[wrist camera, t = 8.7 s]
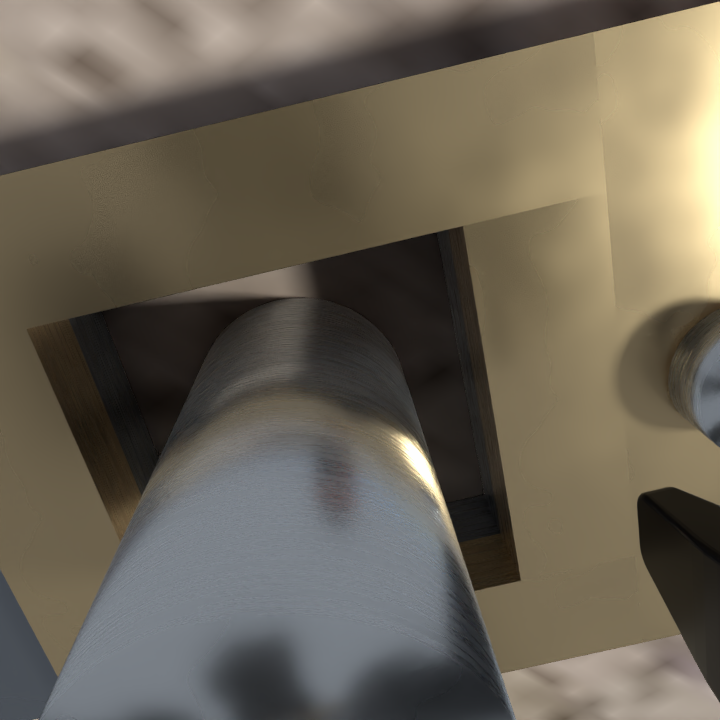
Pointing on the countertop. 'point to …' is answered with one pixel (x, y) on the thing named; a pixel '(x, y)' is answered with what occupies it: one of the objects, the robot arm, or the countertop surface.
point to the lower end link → (3, 613)
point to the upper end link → (477, 295)
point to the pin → (288, 549)
